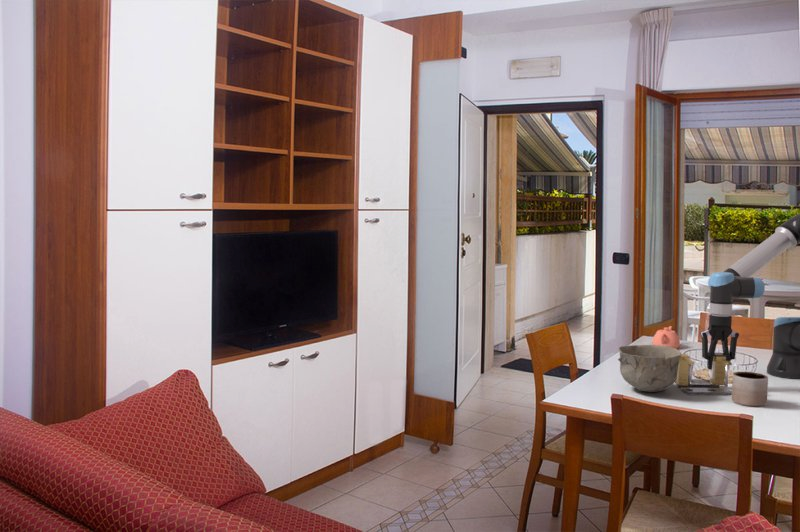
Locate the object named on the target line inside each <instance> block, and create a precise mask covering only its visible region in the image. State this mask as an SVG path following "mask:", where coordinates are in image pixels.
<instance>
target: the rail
mask: <svg viewBox="0 0 800 532" xmlns="http://www.w3.org/2000/svg"><path fill="white" fill-rule="evenodd" d="M675 386H676V388H678V389H682V388H721V385H714V384H712V383H697V382H696V383H695V382H694V383H693V382H691V387H688V386H679V385H678V384H676V383H675Z"/></svg>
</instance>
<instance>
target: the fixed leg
mask: <svg viewBox="0 0 800 532" xmlns="http://www.w3.org/2000/svg"><path fill="white" fill-rule="evenodd" d="M681 354H682V355H681V357H680V360H679V365H678V370H677V379H676V380H675V382H674V384H675V385H676V384H678V385H679V386H688V387H691V383H692V379H691V373H692V374H693V372H692V365H693V366H694V365H695V361H693V360H692V359H690V358H691V357H690V355H688V354H687V353H681Z"/></svg>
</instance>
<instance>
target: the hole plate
mask: <svg viewBox="0 0 800 532" xmlns="http://www.w3.org/2000/svg"><path fill="white" fill-rule="evenodd" d="M681 391H682V392H683V393H685V394H686V395H689V396H693V395H692V394H695V395H694V396H732V389H729V388H728V387H720V388H681ZM690 394H691V395H690ZM700 394H701V395H700Z"/></svg>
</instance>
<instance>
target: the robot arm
mask: <svg viewBox="0 0 800 532" xmlns="http://www.w3.org/2000/svg"><path fill="white" fill-rule="evenodd" d="M774 231H775V232H774V233H773V234H771V235H770V236H769V237H767V238H766V239H764V240H763V241H762V242H761V243H760V244H758V245H757V246H755V247H754V248H753V249H751V250H750V251H749V252H748V253H746V254H745V255H744V256H742V257H741V258H739V260H737V261H736V262H734V263H733V264H731V265H730V266H729V267H728V268H727V269H724V271H717V272H715V271H714V272H713V273H711V275H710V276H709V277H708V280H707V285H708V288H709V289H710V292H709V313H710V314H709V316H708V317H709V319H708V327H707V330H705V331H700V332H699V334H700V337H701V355H702V358H703V359H705V360H707V363H706V365H707V367H706V368H707V369H708V371H709V374H708V377H709V379H710V378H711V379H714V373H715V361H713V358H714V353H716V349H717V348H716V347H717V344H718V343H719V341H720V342H721V347H722V353H723V354H725V355H726V360H728V361H730V362H731V361H733V360H735V359H736V353H737V352H736V351H737V345H738V344H737V343H738V338H739V336H740V333H739V332H736V331H733V329H732V325H733V324H732V321H733V320H732V319H733V317H732V315H733V301H734V299H757V298H761V297H762V296H763V295H764V293H765V290H766V289H765V287H766V286H765V282H764V281H763V279H761V278H760V277H753V276H754V275H755V274H756V273H757V272H759V271H760V270H761V269H763V268H765V266H767V265H768V264H769V263H771V262H772V261H773V260H774V259H776V258H777V257H779V256H780V255H781V254H782V253H785V251H786V250H789V248H795V247H796V246H797V245H799V244H800V213H797V214H796V215H794V216H792V217H790V218H788V219H787V220H786V221H784V222H783V223H782V224H779V226H777V227H776V228H775V230H774ZM772 335H773V338H772V340H773V342H772V343H773V344H772V354H771V357H770V359H769V362H768V363H767V365H766V374H768V375H771V376H774V377H780V378H783V379H785V378H786V379H795V380H797V379H800V316H779V317H776V318H775V319H774V323H773V334H772ZM709 336H710V344H709V339H708V337H709ZM729 337H730V341H729V339H728V338H729ZM729 342H730V344H728V343H729ZM725 369H726V364H725Z"/></svg>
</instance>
